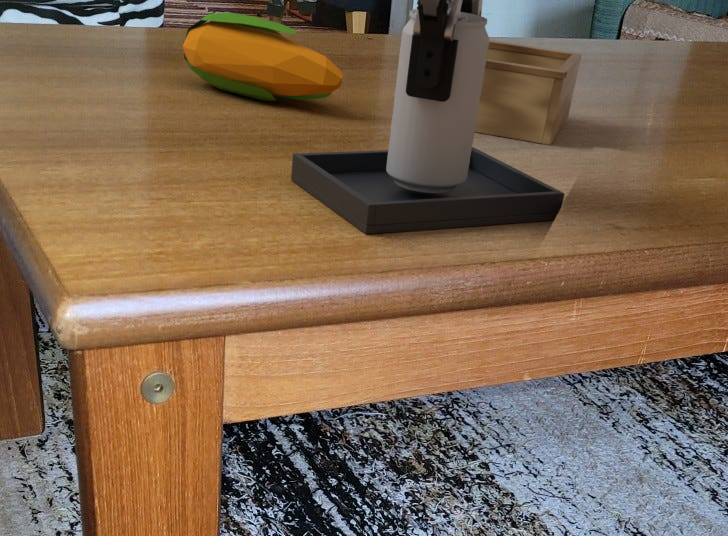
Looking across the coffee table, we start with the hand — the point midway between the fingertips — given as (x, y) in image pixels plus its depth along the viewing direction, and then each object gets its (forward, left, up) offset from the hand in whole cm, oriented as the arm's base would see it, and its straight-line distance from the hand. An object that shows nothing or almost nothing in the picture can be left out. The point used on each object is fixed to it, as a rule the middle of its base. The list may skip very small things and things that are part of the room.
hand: (439, 87), depth 74 cm
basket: (0, -32, -8) cm, 33 cm away
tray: (0, 0, -8) cm, 8 cm away
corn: (+24, -25, -9) cm, 36 cm away
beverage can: (0, 0, -7) cm, 7 cm away
